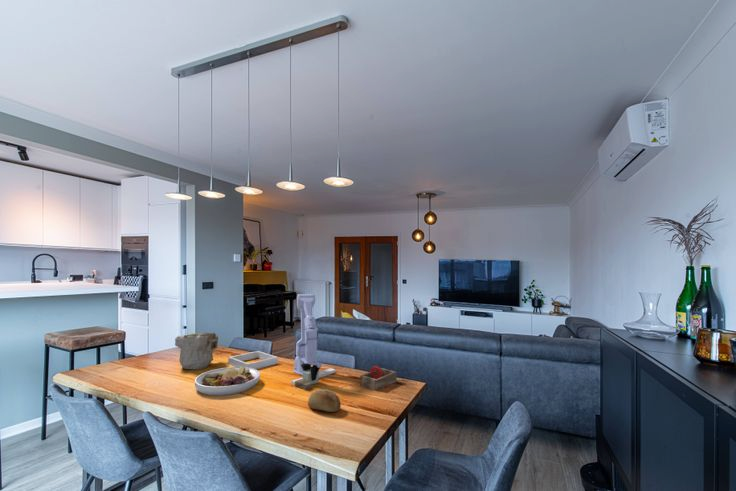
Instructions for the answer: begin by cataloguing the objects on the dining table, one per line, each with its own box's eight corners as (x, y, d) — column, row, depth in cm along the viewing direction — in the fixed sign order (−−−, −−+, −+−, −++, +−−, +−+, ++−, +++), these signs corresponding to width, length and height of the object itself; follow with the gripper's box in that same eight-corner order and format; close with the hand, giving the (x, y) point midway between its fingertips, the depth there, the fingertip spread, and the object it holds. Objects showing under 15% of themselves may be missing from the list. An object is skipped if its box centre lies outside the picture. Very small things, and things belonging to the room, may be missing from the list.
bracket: (366, 382, 171) (367, 367, 171) (369, 379, 175) (371, 364, 175) (387, 388, 166) (388, 373, 166) (390, 385, 170) (392, 370, 170)
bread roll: (334, 417, 132) (334, 397, 132) (302, 411, 137) (302, 391, 138) (344, 408, 141) (344, 389, 141) (314, 402, 146) (314, 383, 147)
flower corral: (228, 363, 199) (228, 357, 200) (257, 357, 215) (258, 350, 216) (247, 371, 186) (247, 364, 186) (277, 363, 202) (277, 356, 202)
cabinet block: (302, 383, 168) (302, 371, 168) (312, 380, 173) (313, 368, 174) (308, 385, 165) (308, 373, 165) (318, 382, 171) (318, 370, 171)
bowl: (185, 385, 164) (185, 369, 164) (242, 372, 186) (243, 358, 186) (208, 404, 143) (209, 385, 144) (270, 386, 165) (271, 370, 165)
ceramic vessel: (184, 345, 210) (209, 315, 209) (211, 371, 206) (236, 340, 206) (157, 353, 187) (185, 320, 187) (186, 383, 184) (215, 349, 183)
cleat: (294, 386, 165) (294, 381, 165) (301, 384, 168) (301, 379, 168) (305, 390, 159) (306, 385, 159) (312, 388, 162) (312, 383, 163)
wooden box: (360, 385, 167) (360, 375, 167) (380, 377, 180) (380, 367, 181) (376, 390, 160) (376, 380, 161) (396, 381, 174) (396, 371, 174)
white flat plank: (291, 383, 168) (291, 380, 168) (330, 370, 190) (330, 368, 190) (296, 385, 165) (296, 382, 165) (335, 372, 187) (335, 369, 187)
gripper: (295, 351, 172) (295, 377, 171) (314, 356, 162) (313, 384, 162) (306, 348, 177) (305, 374, 176) (325, 353, 168) (324, 380, 167)
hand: (310, 378), depth 169 cm, fingers closed on cabinet block, 4 cm apart
